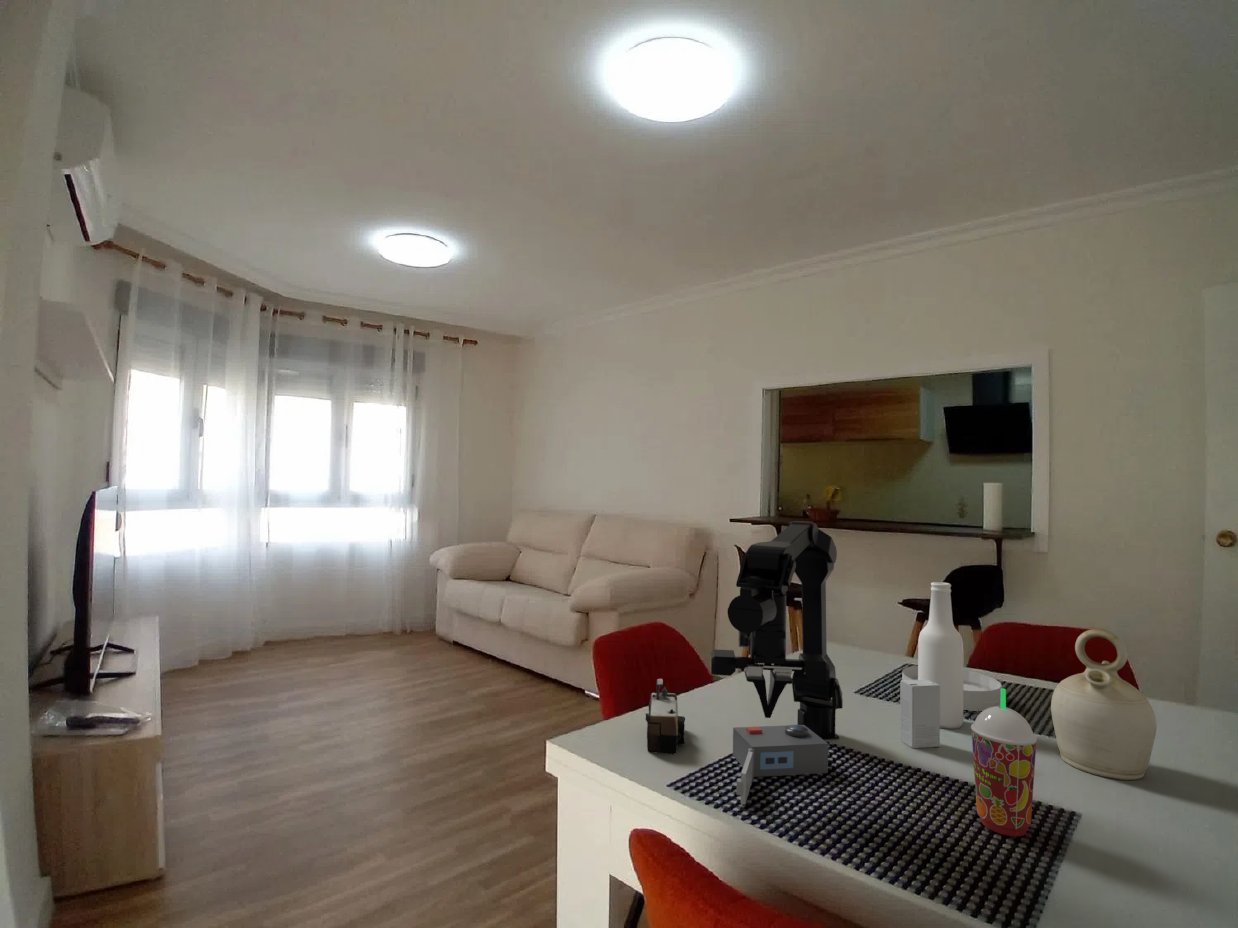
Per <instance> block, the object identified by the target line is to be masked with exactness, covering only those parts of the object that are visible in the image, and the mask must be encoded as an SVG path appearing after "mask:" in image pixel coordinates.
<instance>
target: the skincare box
mask: <svg viewBox="0 0 1238 928" xmlns="http://www.w3.org/2000/svg"><path fill="white" fill-rule="evenodd" d="M899 687H900V693H899V695H900V696H899V697H900V699H899V701H900V702H899V705H900V706H899V709H900V710H899V711H900V713H899V716H900V717H899V718H900V719H899V721H900V723H899V725H900V726H899V731H900V732H899V739H900V741H901V742H902V743H904V744H905V745H906V746H907V747H910V748H912V749H917V748H920V749H921V748H924V749H925V748H937V747H938V748H940V745H941V744H940V743H941V741H940V740H941V739H940V736H941V731H940V686H939V685H938V684H936V683H934V682H931V681H929V680H902V679H901V680H900V685H899Z"/></svg>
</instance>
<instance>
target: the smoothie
mask: <svg viewBox="0 0 1238 928" xmlns="http://www.w3.org/2000/svg"><path fill="white" fill-rule="evenodd" d="M1006 693H1007V690H1006V688H1001V706H995V707H990V708H987V709H985V710H983V711H982V712H979V713H978V715H977V717H976V718H975V720H974V722H973V723H972V724H971V725H970V729H971V740H972V743H971V744H972V759H973V772H974V786H975V787H974V789H975V804H976V813H977V815H978V816H979V817H980V822H981V823H982V825H983V826H984V827H986V828H987V829H988V830H991V831H992V832H994V833H997V834H1000V835H1003V836H1007V837H1022V836H1025V834H1027V829H1029V828H1030V827H1031V826H1032V825H1031V824H1032V814H1033V813H1032V811H1033V800H1034V799H1033V796H1034V795H1033V794H1034V780H1035V767H1036V753H1037V750H1036V749H1037V741H1038V738H1037V737H1038V736H1036V735H1035V734H1034V732H1033V729H1032V727H1031V725H1030V724H1029V722H1028V721H1027V720H1026V718H1024V716H1022V714H1020V713H1019V712H1017V711H1015V710H1014V709H1012V708H1010V707H1007V704H1006V703H1007V702H1006V701H1007V700H1006V699H1007V697H1006V696H1007V695H1006Z"/></svg>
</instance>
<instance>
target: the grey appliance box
mask: <svg viewBox="0 0 1238 928" xmlns="http://www.w3.org/2000/svg"><path fill="white" fill-rule="evenodd" d="M749 748H752V749H754V778H756V777H758V778H760V777H777V776H778V777H779V776H796V775H816V774H829V743H828V742H827V741H826V740H823V739H822V738H820V737H819V736H818V735H816V734H815V733H814V732H813V731H811V730H810V729H809V728H807V727H806V726H805V725H797V724H789V725H788V724H787V725H765V726H764V725H763V726H739V727H737V726H736V727H732V756H733V757H734V759H736V761H737V762H738V764H740V766H741V767H743V766H744V763H745V761H746V758H747V755H748V749H749Z"/></svg>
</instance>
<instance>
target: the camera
mask: <svg viewBox="0 0 1238 928" xmlns="http://www.w3.org/2000/svg"><path fill="white" fill-rule="evenodd" d="M663 683H664V680H663V678H658V679H656V684H655V685H656V692H652V693H650V699H649V703H648V713H645V714H644V715H645V721H646V724H647V725H646V726H647V727H646V729H647V731H646V747H647V752H648V753H653V754H654V753H655V754H667V755H676V754H677V752H678V746H685V745H686V741H685V740H686V739H685V728H686V727H685V725H686V724H685V721H686V717H685V715H684V716H682V715H681V716H680V715H678V712H679V711H678V708H679V707H678V695H677V694H676V693H671V692H668V689H666V686H664V687H663V688H662V689H661V692H660V688H661V687H662V686H663V685H664V684H663Z"/></svg>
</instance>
